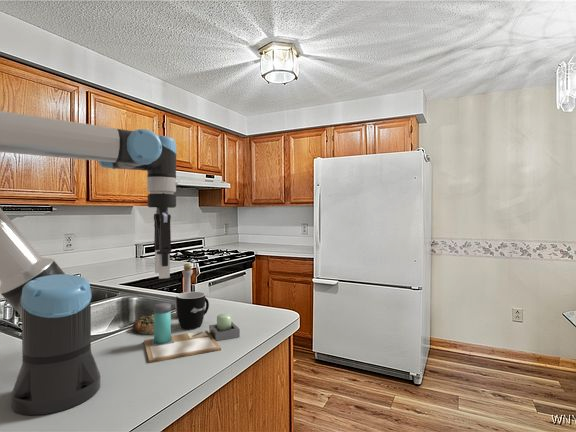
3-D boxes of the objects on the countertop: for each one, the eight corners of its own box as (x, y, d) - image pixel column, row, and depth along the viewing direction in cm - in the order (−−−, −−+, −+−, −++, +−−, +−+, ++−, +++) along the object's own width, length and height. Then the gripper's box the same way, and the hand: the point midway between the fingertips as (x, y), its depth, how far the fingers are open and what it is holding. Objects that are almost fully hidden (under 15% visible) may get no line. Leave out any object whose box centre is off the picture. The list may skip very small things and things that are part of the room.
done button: (219, 332, 104) (219, 319, 103) (215, 328, 107) (215, 315, 107) (233, 330, 105) (233, 317, 105) (228, 326, 109) (228, 313, 109)
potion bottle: (192, 309, 132) (192, 261, 132) (204, 315, 126) (204, 264, 125) (169, 314, 126) (169, 264, 126) (181, 320, 120) (181, 267, 119)
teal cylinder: (154, 344, 96) (154, 308, 96) (153, 339, 100) (153, 304, 100) (172, 342, 98) (172, 306, 98) (169, 336, 102) (169, 302, 102)
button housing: (215, 341, 102) (215, 332, 101) (209, 333, 108) (209, 325, 108) (239, 337, 105) (239, 329, 105) (232, 329, 111) (232, 321, 111)
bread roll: (127, 327, 113) (129, 311, 113) (162, 325, 119) (164, 310, 119) (136, 339, 104) (139, 322, 104) (173, 336, 111) (176, 320, 111)
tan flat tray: (149, 362, 87) (149, 359, 87) (143, 341, 100) (143, 339, 100) (221, 350, 95) (221, 347, 95) (207, 332, 109) (207, 329, 109)
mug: (189, 333, 108) (189, 300, 108) (170, 327, 113) (170, 295, 112) (217, 322, 118) (217, 292, 118) (198, 317, 123) (198, 288, 123)
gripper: (182, 192, 91) (182, 281, 91) (170, 194, 109) (170, 268, 110) (151, 191, 87) (151, 283, 88) (144, 194, 106) (144, 270, 106)
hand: (162, 275), depth 99 cm, fingers open, 8 cm apart
